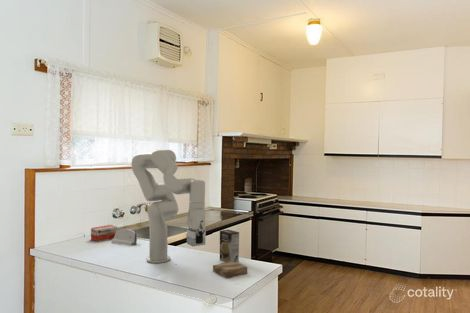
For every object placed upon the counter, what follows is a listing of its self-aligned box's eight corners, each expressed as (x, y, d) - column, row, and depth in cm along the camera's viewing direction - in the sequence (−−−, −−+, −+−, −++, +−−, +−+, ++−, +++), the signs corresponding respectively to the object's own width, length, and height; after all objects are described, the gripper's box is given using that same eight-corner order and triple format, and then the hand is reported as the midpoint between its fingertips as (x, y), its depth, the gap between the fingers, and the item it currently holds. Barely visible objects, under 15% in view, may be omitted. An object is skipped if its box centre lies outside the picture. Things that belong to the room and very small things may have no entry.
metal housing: (186, 243, 174) (187, 229, 174) (199, 241, 178) (199, 227, 178) (192, 246, 169) (193, 232, 169) (205, 244, 173) (205, 230, 173)
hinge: (110, 242, 228) (114, 227, 231) (115, 243, 232) (119, 228, 235) (131, 245, 221) (135, 229, 224) (136, 246, 225) (139, 230, 228)
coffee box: (219, 260, 190) (219, 230, 190) (227, 258, 195) (227, 229, 195) (230, 264, 184) (230, 233, 184) (239, 261, 188) (239, 231, 188)
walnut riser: (212, 271, 173) (212, 264, 173) (232, 266, 180) (232, 260, 180) (226, 278, 163) (226, 271, 163) (247, 273, 170) (247, 266, 170)
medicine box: (96, 241, 231) (96, 229, 231) (90, 239, 236) (90, 227, 236) (117, 237, 242) (117, 226, 242) (111, 235, 248) (111, 224, 248)
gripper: (181, 203, 178) (181, 238, 178) (199, 208, 164) (198, 247, 164) (195, 202, 182) (194, 236, 183) (212, 207, 168) (211, 245, 169)
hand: (196, 241), depth 174 cm, fingers closed on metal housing, 6 cm apart
